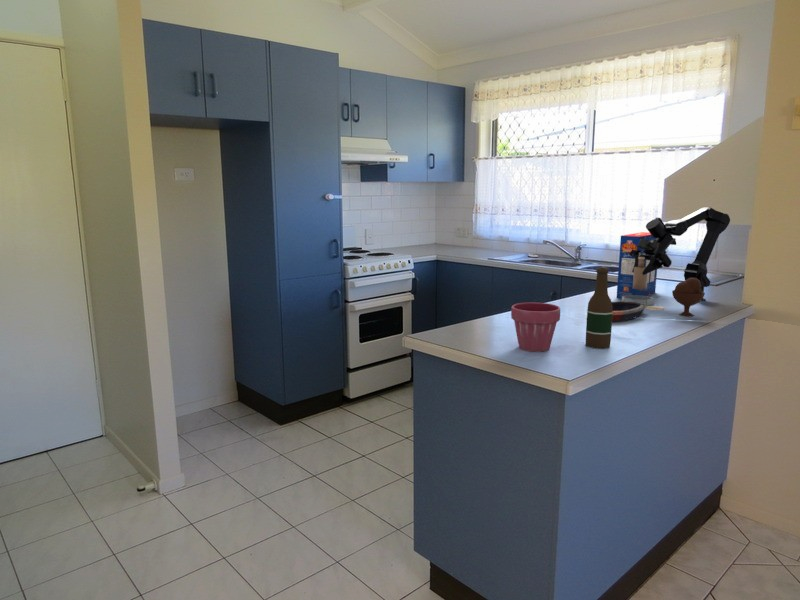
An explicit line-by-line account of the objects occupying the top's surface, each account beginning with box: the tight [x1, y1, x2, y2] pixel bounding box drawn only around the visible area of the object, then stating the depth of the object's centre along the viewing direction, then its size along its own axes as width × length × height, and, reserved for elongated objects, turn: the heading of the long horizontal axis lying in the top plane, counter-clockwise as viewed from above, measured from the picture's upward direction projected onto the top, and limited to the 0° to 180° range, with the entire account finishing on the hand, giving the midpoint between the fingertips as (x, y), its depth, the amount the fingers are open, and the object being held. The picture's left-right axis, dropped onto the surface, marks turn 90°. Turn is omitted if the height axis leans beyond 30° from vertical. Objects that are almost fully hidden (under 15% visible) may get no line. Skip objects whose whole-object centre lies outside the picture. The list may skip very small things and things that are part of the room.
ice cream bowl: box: [671, 278, 706, 318], centre depth 218 cm, size 11×11×15 cm
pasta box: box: [616, 232, 658, 299], centre depth 262 cm, size 28×8×28 cm, turn 140°
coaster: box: [645, 305, 666, 311], centre depth 233 cm, size 7×7×1 cm
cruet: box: [633, 257, 648, 290], centre depth 241 cm, size 5×5×13 cm
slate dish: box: [621, 295, 655, 306], centre depth 244 cm, size 12×12×3 cm
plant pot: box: [510, 301, 561, 353], centre depth 174 cm, size 14×14×13 cm
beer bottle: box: [585, 267, 613, 350], centre depth 175 cm, size 8×8×24 cm
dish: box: [611, 300, 646, 323], centre depth 219 cm, size 16×31×5 cm, turn 129°
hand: (637, 273), depth 241 cm, fingers closed on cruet, 5 cm apart
